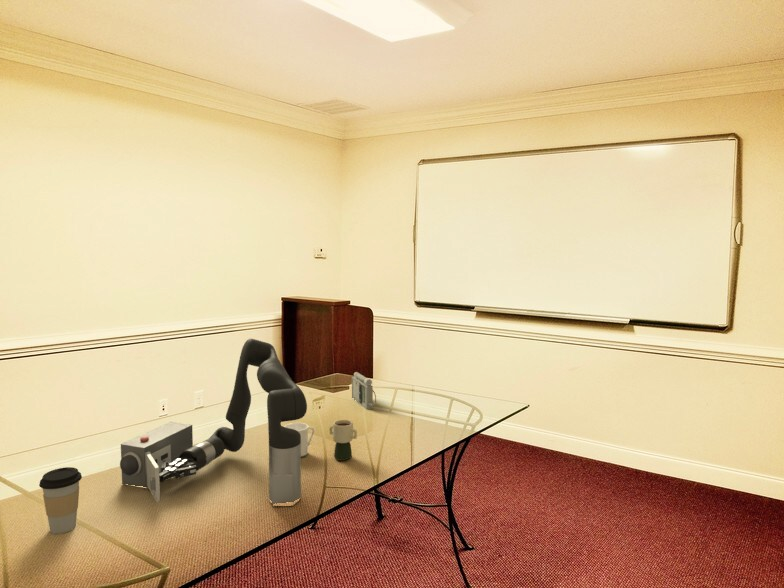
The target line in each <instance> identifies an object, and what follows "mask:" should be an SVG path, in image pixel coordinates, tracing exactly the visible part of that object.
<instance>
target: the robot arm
mask: <svg viewBox="0 0 784 588" xmlns="http://www.w3.org/2000/svg"><path fill="white" fill-rule="evenodd" d="M249 366H254V367H257V371H256V377H257V381H258V383H259V385H260V387H261V388H262V389H263V391H265V392H266V393H267V394H268V395H267V398H266V399H267V400H266V406H267V409H266V410H267V411H266V412H267V425H268V428H267V429H268V494H269V495H268V496H269V497H268V498H269V499H270V500H271V501H272V504H275V503H276V504H277V503H286V502H294V501H295V500H297V499H299V498H300V497H301V498H302V468H301V466H302V464H301V463H302V462H301V461H302V460H301V459H302V458H301V435H300V433H299V432H298V431H296V430H294V429H290V428H286V427H284V426H283V425H281V424H282V423H283V422H291V421H298V420H300V419H302V418H303V417H304V416H305V415H306V414H307V410H308V403H307V399H306V396H305V394H304V392H303V390H302V389H301V388H300V387H299V386H298V385H297V384H296V383H295V382H294V380H292V378H291V377H290V375H289V374H288V372H287V370H286V368H285V367H284V366H283V364H282V363H281V361H280V360H279V357H278V354H277V352H276V350H275V347H274V346H273V345H272V344H271V343H269V342H265V341H262V340H258V339H255V338H248V339H246V341H245V342H244V344H243V346H242V349H241V352H240V356H239V361H238V365H237V370H236V374H235V375H236V376H235V379H234V380H235V382H234V386H233V390H232V395H231V398H230V402H229V405H228V408H227V411H226V415H225V420H227V422H229V423H230V424H231V425H232V428H229V427H227V426H220V427H219V428H217V429H216V430H215V431H214V433H213V434H212V435H211V436H210V437H208V438H207V439H205V440H204V441H202V442H199V443H196V444H193V447H191V448H189V449H187V450H185V451H183V452H182V453H181V454H180V456H179V458H178V459H175V460H173V461H172V462H167V461H166V460H164V461H162V466H161V473H160V474H159V483H163V482H165V481H167V480H169V479H174V478H175V479H182V478H185V477H186V478H187V477H190V476H191V477H192V476H194V475H197V472H198V471H200V470H201V469H203V468H204V467H206V466H208V465H209V464H211V462H212V461H214V460H216V459H218V458H219V457H221V456H222V455H223V454H224V452H225V451H229V452H232V453H236V452H238V451H240V450H241V449H242V447H243V445H244V442H245V438H246V437H245V436H246V435H245V434H246V420H247V416H248V413H249V409H250V406H251V402H252V394H251V390H250V386H249V381H248V369H249ZM269 499H268V500H269ZM272 504H271V505H272Z"/></svg>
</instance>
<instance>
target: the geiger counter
mask: <svg viewBox="0 0 784 588" xmlns="http://www.w3.org/2000/svg"><path fill="white" fill-rule="evenodd" d="M372 384H373V381H372V380H371V379H370V378H368V377H366V376H364V375H362V374H361V373H359V372H358V371H355V372H354V373H353V376H351V399H352V398H354V399H355V400H356V401H357V402H358V404H359V405H360V406H361V407H363V409H365V410H372V409H373V406H375V405H376V403H377V395H376V392H375V390H374V389H373V385H372ZM373 394H374V400H373ZM355 400H354V401H355ZM356 401H355V402H356ZM373 401H374V403H373ZM357 402H356V403H357Z"/></svg>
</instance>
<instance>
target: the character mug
mask: <svg viewBox="0 0 784 588" xmlns="http://www.w3.org/2000/svg"><path fill="white" fill-rule="evenodd" d="M329 435H332V439H333V442H334V443H335V445H334V446H335V447H334V452H333V453H334V455H333V457H334V459H336V460H339V461H344V460H349V459H350V458H352V457H353V455H352V454H353V452H352V445H351V442H352V441H353V439H354V440H357V438H358V431H357V429H354V422H353V421H352V420H349V419H338V420H337V419H336V420H335V421H333V425H330V426H329Z"/></svg>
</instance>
